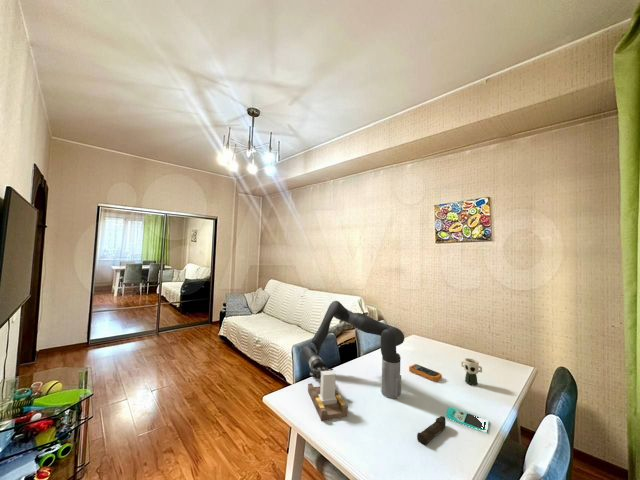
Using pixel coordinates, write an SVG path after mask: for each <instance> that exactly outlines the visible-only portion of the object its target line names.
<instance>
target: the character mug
mask: <svg viewBox="0 0 640 480" xmlns="http://www.w3.org/2000/svg"><path fill="white" fill-rule="evenodd" d="M460 363H461V364H460V365H461V367H462V368H464V369H463V370H464V371H465V372H466V373H465V378H464V379H465V380H464V382H465V383H466V384H470V385H471V386H477V385H478V376H477V375H478V374H479V373H482V372H483V367H482V366H481V365H479V361H478V360H477V359H474V358H469V357H467V358H464V360H461V361H460Z"/></svg>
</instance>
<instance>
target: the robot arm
mask: <svg viewBox="0 0 640 480" xmlns="http://www.w3.org/2000/svg"><path fill="white" fill-rule="evenodd" d="M333 318H335V319H336V320H338V321H341V322H344V323H347V324H349V325H350V326H351V327H353V328H355V329H357V330H359V331H361V332H363V333H366V334H371V335H375V336H380V353H381V356H382V357H381V360H382V361H381V387H380V388H381V389H380V391H381V394H382V395H383V396H384V397H386V398H389V399H390V398H391V399H399V398H400V396H401V394H402V375H401V358H402V357H401V354H399V353H397V346H398V347H399V346H400V345H402V344H403V343H404V342H405V335H404V332H403V331H402V330H401V329H399V328H398V327H395V326H392V325H389V324H386V323H383V322H381V321H379V320H377V319H375V318H373V317H371V316H368V315H366V314H364V313H361V312H352V311H351V310H349V309H348V308H346V307H345V306H344V305H343V304H342V303H341V302H340V301H338V300H333V301H332V302H331V303H330V304H329V306H328V308H327V310H326V312H325V314H324V317H323V319H322V322H321V323H320V325H319V327H318V329H317V331H316V332H315V334H314V335H313V337H312V339H311V343H312V344H313V345H314V348H313V347H312V346H310V345H304V346H303V347H302V348H301V352H300V353H301V357H302V358H303V359H304V360H305V361H306V362H307V365H309V366H308V367H309V369H310V370H309V376H310V377H312V378H314V379H317V380H321V371H331V370H333V371H334V368H332V367H331V368H328V367H327V365H326V363H325V362H324V360H323V359H322V358H321V357H320V352H321V349H322V346H323V344H324V343H325V341H326V339H327V337H328V335H329V332H330V331H329V330H330V327H331V323H332V321H333Z"/></svg>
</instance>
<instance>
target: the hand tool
mask: <svg viewBox="0 0 640 480" xmlns="http://www.w3.org/2000/svg"><path fill="white" fill-rule="evenodd" d="M446 423H447V421H446V417H445V416H443V415H441V416H439V417H437V418H435V422H433V423H432V424H430V425H429V426H428V427H426V428H425V429H424V430H422V431H421V432H417V434H416V437H417V441H418V443H420V444H421V445H423V446H427V445H428V443H429V441H431V440H432V439H433V438H435V436H437V434H439V433H442V432H443V431H445V428H446Z"/></svg>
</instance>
